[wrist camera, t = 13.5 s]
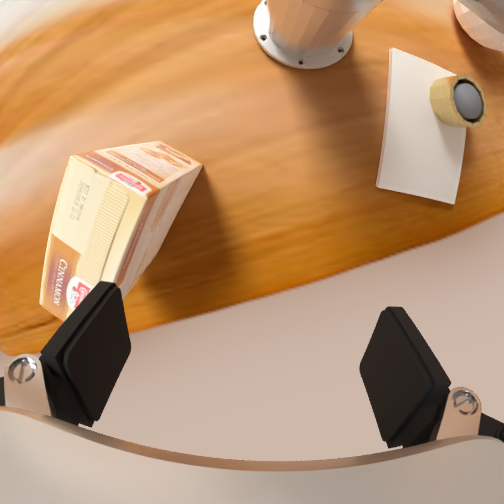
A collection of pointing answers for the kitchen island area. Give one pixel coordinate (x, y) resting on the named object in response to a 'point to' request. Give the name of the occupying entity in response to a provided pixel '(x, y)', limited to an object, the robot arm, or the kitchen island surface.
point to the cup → (478, 28)
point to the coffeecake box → (112, 219)
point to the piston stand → (422, 131)
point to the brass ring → (446, 106)
